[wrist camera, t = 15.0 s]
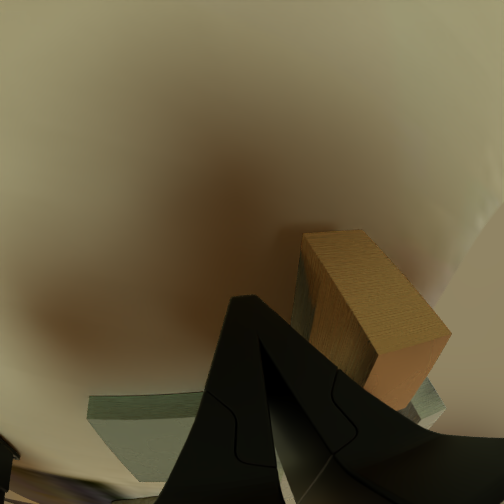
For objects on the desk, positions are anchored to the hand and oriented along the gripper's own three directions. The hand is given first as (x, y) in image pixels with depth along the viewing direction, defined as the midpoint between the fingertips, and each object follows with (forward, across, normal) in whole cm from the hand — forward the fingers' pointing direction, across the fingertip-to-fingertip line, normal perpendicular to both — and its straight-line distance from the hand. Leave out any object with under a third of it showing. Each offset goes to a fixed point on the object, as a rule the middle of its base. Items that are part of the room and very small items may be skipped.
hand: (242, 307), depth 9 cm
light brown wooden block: (+1, -3, +9) cm, 9 cm away
